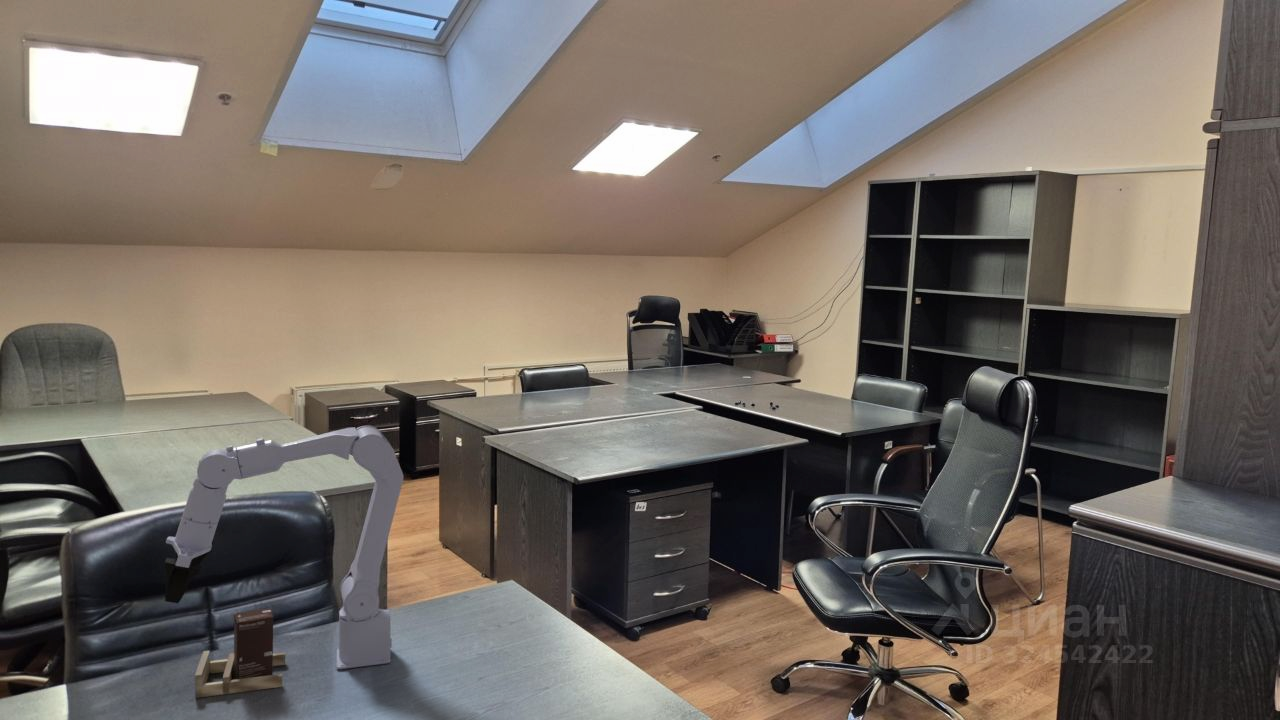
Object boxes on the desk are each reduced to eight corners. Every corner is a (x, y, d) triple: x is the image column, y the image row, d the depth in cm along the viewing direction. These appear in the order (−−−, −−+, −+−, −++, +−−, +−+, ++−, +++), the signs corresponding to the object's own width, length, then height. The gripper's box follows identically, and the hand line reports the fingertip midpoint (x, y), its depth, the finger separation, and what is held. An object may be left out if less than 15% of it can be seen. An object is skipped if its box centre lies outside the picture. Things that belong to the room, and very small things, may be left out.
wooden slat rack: (285, 662, 150) (285, 642, 150) (281, 686, 142) (281, 665, 141) (203, 672, 145) (203, 651, 145) (195, 697, 137) (194, 675, 136)
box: (237, 688, 141) (236, 622, 139) (233, 677, 144) (233, 612, 143) (274, 680, 144) (273, 615, 143) (270, 669, 148) (269, 606, 146)
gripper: (183, 502, 145) (159, 574, 144) (166, 525, 131) (141, 605, 131) (225, 510, 147) (202, 582, 147) (213, 534, 134) (188, 612, 133)
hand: (176, 593), depth 139 cm, fingers open, 7 cm apart
